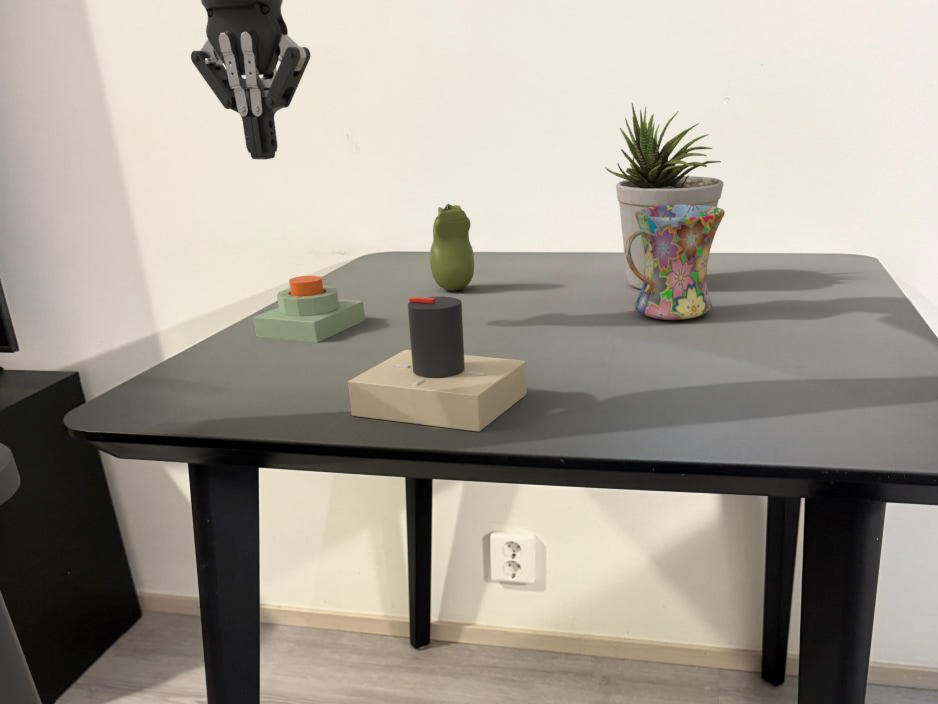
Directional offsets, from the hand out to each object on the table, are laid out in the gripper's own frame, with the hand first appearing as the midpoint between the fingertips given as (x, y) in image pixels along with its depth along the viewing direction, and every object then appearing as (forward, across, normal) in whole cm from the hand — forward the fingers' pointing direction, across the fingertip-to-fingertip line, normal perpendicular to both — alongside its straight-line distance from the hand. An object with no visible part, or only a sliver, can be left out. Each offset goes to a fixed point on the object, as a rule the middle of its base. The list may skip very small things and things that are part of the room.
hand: (263, 158), depth 93 cm
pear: (+17, +9, +24) cm, 31 cm away
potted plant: (+17, +33, +34) cm, 50 cm away
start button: (+14, +2, +2) cm, 14 cm away
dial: (+14, +27, -17) cm, 35 cm away
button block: (+17, +2, +2) cm, 18 cm away
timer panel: (+17, +28, -16) cm, 36 cm away
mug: (+17, +38, +18) cm, 45 cm away
